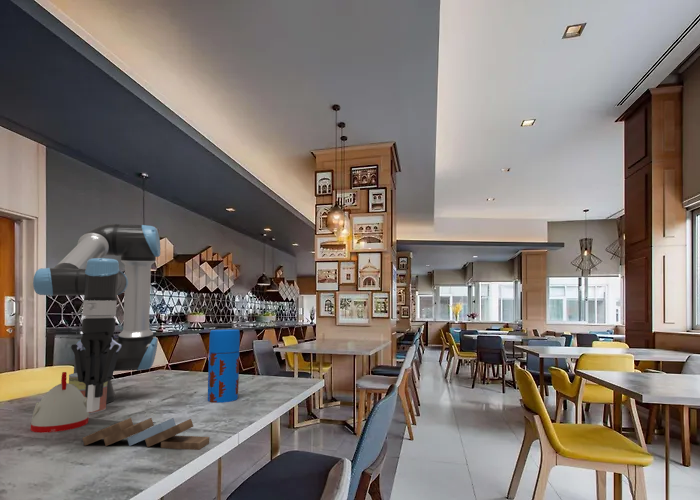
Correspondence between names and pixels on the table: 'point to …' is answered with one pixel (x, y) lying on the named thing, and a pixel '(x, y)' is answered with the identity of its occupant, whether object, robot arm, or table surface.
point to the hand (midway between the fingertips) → (92, 410)
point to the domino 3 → (151, 431)
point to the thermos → (223, 366)
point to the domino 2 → (128, 431)
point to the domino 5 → (185, 442)
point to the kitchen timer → (60, 409)
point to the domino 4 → (169, 433)
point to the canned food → (81, 387)
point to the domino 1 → (107, 431)
